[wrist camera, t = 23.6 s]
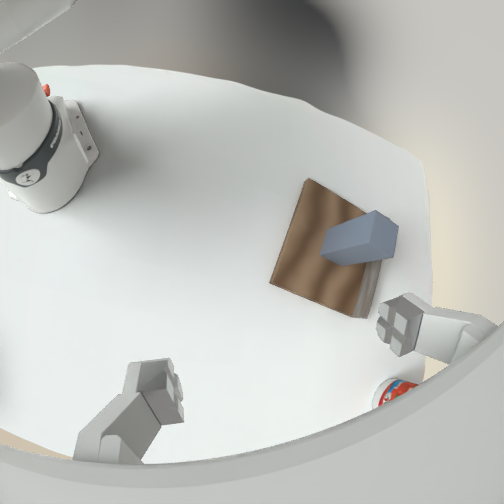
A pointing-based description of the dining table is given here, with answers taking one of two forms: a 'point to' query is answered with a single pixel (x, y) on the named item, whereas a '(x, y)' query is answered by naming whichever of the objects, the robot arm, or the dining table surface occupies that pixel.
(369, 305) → the shelf board
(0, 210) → the dining table surface
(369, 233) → the carton
